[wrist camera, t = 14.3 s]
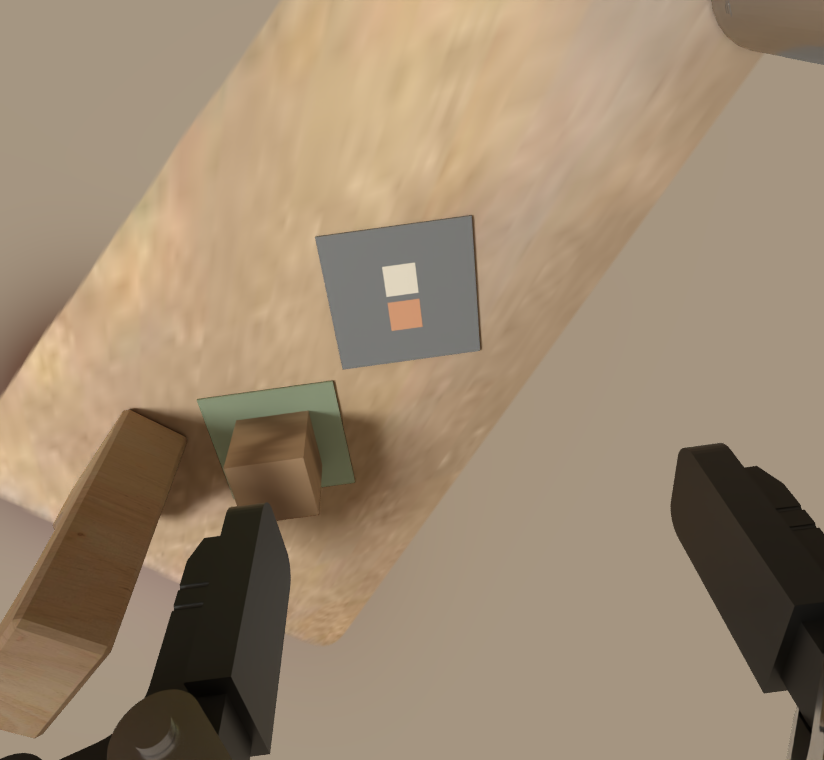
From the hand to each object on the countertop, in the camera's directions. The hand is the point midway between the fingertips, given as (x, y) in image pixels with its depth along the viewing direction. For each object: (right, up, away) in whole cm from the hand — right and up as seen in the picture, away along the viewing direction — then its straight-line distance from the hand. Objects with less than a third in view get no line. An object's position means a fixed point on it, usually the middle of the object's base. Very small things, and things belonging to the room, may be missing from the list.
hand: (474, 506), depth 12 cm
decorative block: (-25, -5, +41) cm, 48 cm away
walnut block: (-12, -3, +41) cm, 43 cm away
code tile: (-2, +9, +34) cm, 35 cm away
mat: (-12, -3, +41) cm, 43 cm away
